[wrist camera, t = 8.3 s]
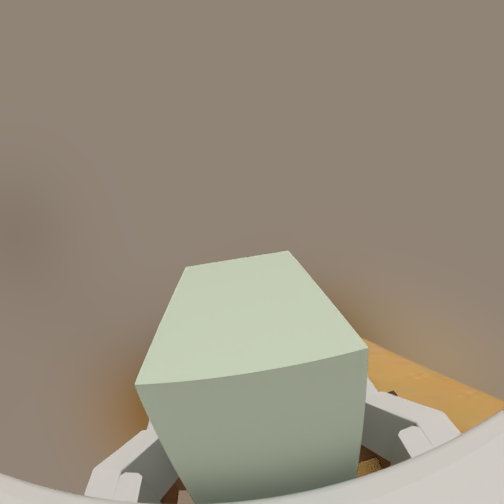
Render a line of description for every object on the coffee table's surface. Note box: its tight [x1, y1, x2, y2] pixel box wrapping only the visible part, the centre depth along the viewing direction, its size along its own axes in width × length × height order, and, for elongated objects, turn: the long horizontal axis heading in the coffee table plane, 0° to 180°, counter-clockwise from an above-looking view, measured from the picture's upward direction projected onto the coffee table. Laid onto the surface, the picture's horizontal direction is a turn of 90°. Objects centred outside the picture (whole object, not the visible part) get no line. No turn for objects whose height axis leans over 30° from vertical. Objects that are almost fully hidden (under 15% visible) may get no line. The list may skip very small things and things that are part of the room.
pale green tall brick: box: [135, 251, 369, 504], centre depth 9 cm, size 4×6×11 cm, turn 5°
